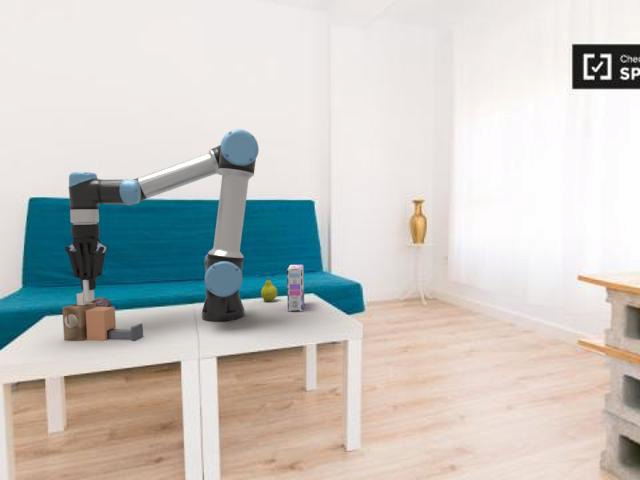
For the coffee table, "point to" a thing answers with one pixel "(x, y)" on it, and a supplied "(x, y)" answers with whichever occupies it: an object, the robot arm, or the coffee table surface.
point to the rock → (102, 302)
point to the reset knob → (81, 299)
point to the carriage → (99, 322)
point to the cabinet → (75, 321)
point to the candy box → (295, 287)
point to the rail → (126, 333)
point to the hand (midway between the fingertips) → (89, 300)
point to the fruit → (268, 291)
